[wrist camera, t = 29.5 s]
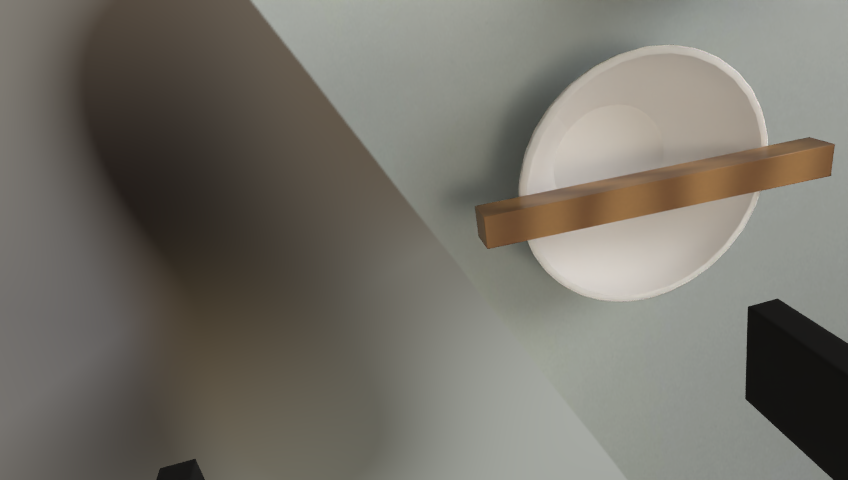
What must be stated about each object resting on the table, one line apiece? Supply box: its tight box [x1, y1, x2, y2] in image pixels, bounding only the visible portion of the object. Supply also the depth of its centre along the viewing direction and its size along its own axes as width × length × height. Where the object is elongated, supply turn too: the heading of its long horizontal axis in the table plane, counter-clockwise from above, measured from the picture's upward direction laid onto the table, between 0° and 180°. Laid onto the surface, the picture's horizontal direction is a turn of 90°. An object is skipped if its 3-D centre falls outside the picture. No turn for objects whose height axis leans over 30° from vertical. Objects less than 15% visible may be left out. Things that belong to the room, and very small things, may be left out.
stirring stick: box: [475, 137, 835, 249], centre depth 43 cm, size 26×2×2 cm, turn 99°
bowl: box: [518, 45, 768, 302], centre depth 47 cm, size 20×20×7 cm
